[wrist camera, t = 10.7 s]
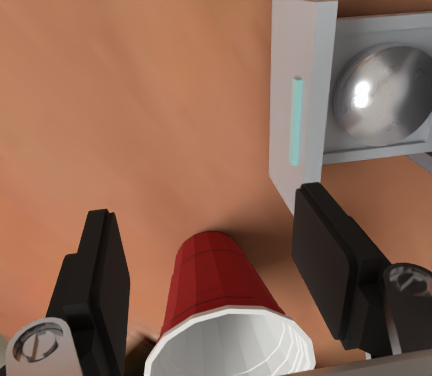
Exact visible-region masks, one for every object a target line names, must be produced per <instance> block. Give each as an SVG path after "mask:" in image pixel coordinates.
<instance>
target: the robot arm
mask: <svg viewBox="0 0 432 376" xmlns="http://www.w3.org/2000/svg"><path fill="white" fill-rule="evenodd" d="M292 256H293V260H294V262H295V264H296V266H297V268H298V270H299V272H300V274H301V276H302V278H303V279H304V281H305V283H306V285H307V287H308V289H309V291H310V293H311V295H312V297H313V299H314V301H315V303H316V305H317V307H318V309H319V311H320V313H321V315H322V317H323V319H324V321H325V322H326V324H327V326H328V328H329V330H330V332H331V334H332V336H333V338H334V339H335V340H339V339H340V341H341V343H342V345H343V347H344V349H345V350H350V349H356V348H359V349H361V350H363V351H365V352H366V360H363V361H357V362H352V363H346V364H340V365H335V366H329V367H324V368H318V369H312V370H307V371H301V372H296V373H291V374H285V375H280V376H432V272H431V271H429V270H427V269H426V268H423V267H421V266H418V265H415V264H410V263H396V264H391V263H390V261H389V260H388V259H387V258H386V257H385V256H384V254H383V253H382V252H381V251H380V250H379V249H378V247H377V246H376V245H375V244H374V243H373V242H372V240H371V239H370V238H369V237H368V236H367V234H366V233H365V232H364V231H363V230H362V229H361V227H360V226H359V225H358V224H357V223H356V222H355V220H354V219H353V218H352V217H350V216H348V215H347V214H346V213H345V212H344V211H343V210H342V208H341V207H340V206H339V205H338V204H337V202H336V201H335V200H334V199H333V198H332V196H331V195H330V194H329V193H328V192H327V190H326V189H325V188H324V187H323V186H322V185H321V183H319V182H312V183H304V184H302V185H301V187H300V188H298V189H296V192H295V207H294V224H293V240H292ZM129 294H130V276H129V271H128V267H127V263H126V259H125V254H124V250H123V246H122V241H121V237H120V233H119V229H118V224H117V220H116V216H115V213H114V212H112V213H109V212H108V210H107V209H101V210H93V211H89V212H88V215H87V219H86V222H85V226H84V230H83V233H82V237H81V240H80V244H79V248H78V251H77V253H75V254H68V255H66V256H65V258H64V260H63V263H62V266H61V270H60V273H59V276H58V279H57V282H56V285H55V289H54V292H53V295H52V298H51V301H50V304H49V307H48V311H47V314H46V317H45V318H43V319H39V320H36V321H34V322H32V323H30V324H28V325H26V326H25V327H23V328H22V329H21V330H19V331H18V332H17V333H16V334H15V335H14V336H13V338H12V339H11V340H10V342H9V344H8V346H7V348H6V353H5V361H6V365H5V366H3V367H2V368H1V369H0V376H123V375H124V365H125V351H126V337H127V323H128V309H129Z"/></svg>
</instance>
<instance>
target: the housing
mask: <svg viewBox="0 0 432 376" xmlns="http://www.w3.org/2000/svg"><path fill="white" fill-rule="evenodd" d="M407 157H408V158H410V159H411V160H412V161H414V162H415V163H417V164H418V165H420V166H421V167H423V168H424V169H426V170H427V171H429V172H430V173H432V152H424V153H416V154H408V155H407Z"/></svg>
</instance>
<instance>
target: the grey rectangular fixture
mask: <svg viewBox="0 0 432 376" xmlns="http://www.w3.org/2000/svg"><path fill="white" fill-rule="evenodd" d="M337 9H338V1H337V0H272V38H271V91H270V143H269V177H270V178H271V180H272V182H273V183H274V185H275V187H276V188H277V190H278V192H279V193H280V195H281V196H282V198H283V200H284V201H285V203H286V205H287V206H288V208H289V210H290V211H291V213H292V215H293V216H294V207H295V192H296V189H298V188H300V187H301V185H302V184H304V183H312V182H319V183H320V179H321V169H322V165H326V164H334V163H342V162H350V161H359V160H367V159H375V158H383V157H391V156H399V155H408V154H416V153H424V152H432V112H431V113H430V115H429V116H428V118H427V119H426V120H425V122H424V123H423V124H422V125H421V126H420V127H419V128H418V129H417V130H416V131H415V132H413V133H412V134H411V135H409V136H408V137H406V138H405V139H403V140H401V141H399V142H397V143H394V144H391V145H386V146H369V145H365V144H363V143H361V142H359V141H357V140H356V139H354V138H353V137H352V136H351V135H350V134H348V133H347V132H346V131H345V130H344V129H342V128H341V127H340V126H339V124H338V123H337V121H336V120H335V117H334V115H333V111H332V105H331V99H332V92H333V87H334V85H335V82H336V79H337V77H338V76H339V74H340V72H341V71H342V69H343V68H344V66H345V65H346V64H347V63H348V62H349V61H350V60H351V59H352V58H353V57H354V56H355V55H356V54H358V53H359V52H360V51H362V50H364V49H365V48H368V47H370V46H372V45H375V44H379V43H384V42H393V43H398V44H402V45H406V46H409V47H413V48H417V49H419V50H422V51H424V52H425V53H427V54H428V55H429V56H430V57H431V58H432V11H421V12H408V13H395V14H382V15H370V16H357V17H344V18H337Z"/></svg>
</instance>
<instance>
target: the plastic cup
mask: <svg viewBox="0 0 432 376" xmlns="http://www.w3.org/2000/svg"><path fill="white" fill-rule="evenodd" d="M315 364H316V362H315V356H314V351H313V345H312V340H311V339H310V338H309V337H308V336H307V335H306V333H305V332H304V331H303V330H302V329H301V328H300V327H299V326H298V325H297V324H296V323H295V321H294V320H293V319H292V318H291V317H289V316H286V315H285V313H284V311H283V310H282V309H281V308H280V307H279V306H278V304H277V303H276V301H275V300H274V298H273V297H272V295H271V293H270V292H269V290H268V289H267V287H266V286H265V284H264V282H263V281H262V279H261V278H260V276H259V275H258V273H257V271H256V270H255V268H254V267H253V265H252V264H251V263H250V262H249V261H248V259H247V258H246V256H245V254H244V253H243V251H242V250H241V248H240V247H239V246H238V245H237V243H236V242H235V241H234V240H233V239H232V238H231V237H230V236H227V235H225V234H223V233H220V232H203V233H200V234H196V235H194V236H192V237H191V238H189V239H188V240H186V241H185V242H184V243H183V244H182V246H181V247H180V249H179V250H178V254H177V255H176V260H175V267H174V274H173V276H172V279H171V285H170V290H169V296H168V302H167V308H166V313H165V319H164V325H163V327H162V329H161V333H160V337H159V339H158V341H157V344H156V346H155V347H154V349H153V350H152V352H151V353H150V354H149V356H148V358H147V360H146V363H145V373H144V376H280V375H285V374H291V373H296V372H301V371H307V370H312V369H314V367H315Z"/></svg>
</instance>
